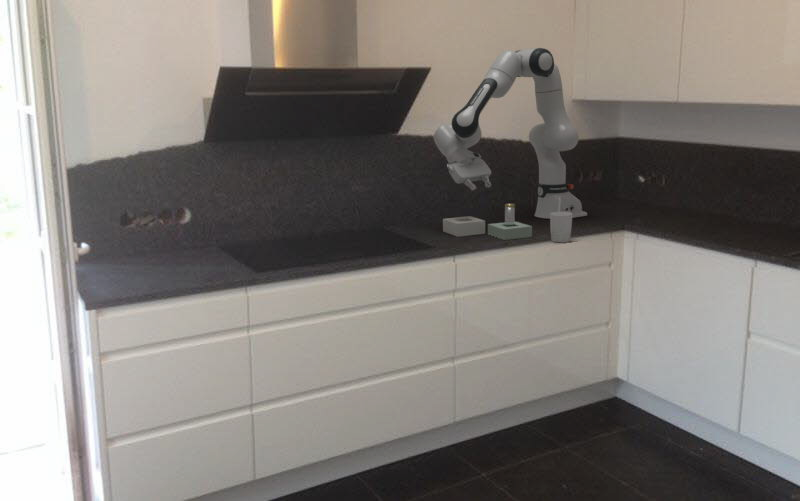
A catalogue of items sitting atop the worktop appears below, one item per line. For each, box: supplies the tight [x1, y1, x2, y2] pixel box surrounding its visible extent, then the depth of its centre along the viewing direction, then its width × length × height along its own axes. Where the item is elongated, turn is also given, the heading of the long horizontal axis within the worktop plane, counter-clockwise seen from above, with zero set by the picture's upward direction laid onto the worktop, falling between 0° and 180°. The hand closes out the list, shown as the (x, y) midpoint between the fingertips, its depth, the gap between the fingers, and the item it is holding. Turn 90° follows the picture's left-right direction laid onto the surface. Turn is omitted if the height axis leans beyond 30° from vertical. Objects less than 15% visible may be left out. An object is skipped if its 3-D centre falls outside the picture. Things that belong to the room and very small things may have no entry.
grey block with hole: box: [442, 215, 486, 238], centre depth 288 cm, size 12×12×5 cm
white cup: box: [549, 212, 573, 244], centre depth 268 cm, size 8×8×10 cm
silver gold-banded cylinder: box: [504, 202, 516, 227], centre depth 279 cm, size 4×4×12 cm
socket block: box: [487, 221, 533, 241], centre depth 280 cm, size 12×12×4 cm
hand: (482, 187), depth 285 cm, fingers open, 8 cm apart
